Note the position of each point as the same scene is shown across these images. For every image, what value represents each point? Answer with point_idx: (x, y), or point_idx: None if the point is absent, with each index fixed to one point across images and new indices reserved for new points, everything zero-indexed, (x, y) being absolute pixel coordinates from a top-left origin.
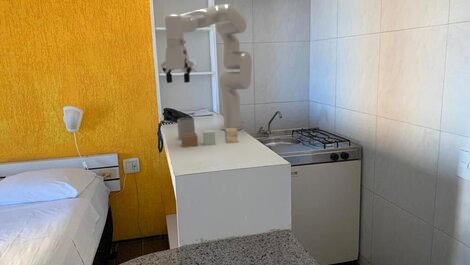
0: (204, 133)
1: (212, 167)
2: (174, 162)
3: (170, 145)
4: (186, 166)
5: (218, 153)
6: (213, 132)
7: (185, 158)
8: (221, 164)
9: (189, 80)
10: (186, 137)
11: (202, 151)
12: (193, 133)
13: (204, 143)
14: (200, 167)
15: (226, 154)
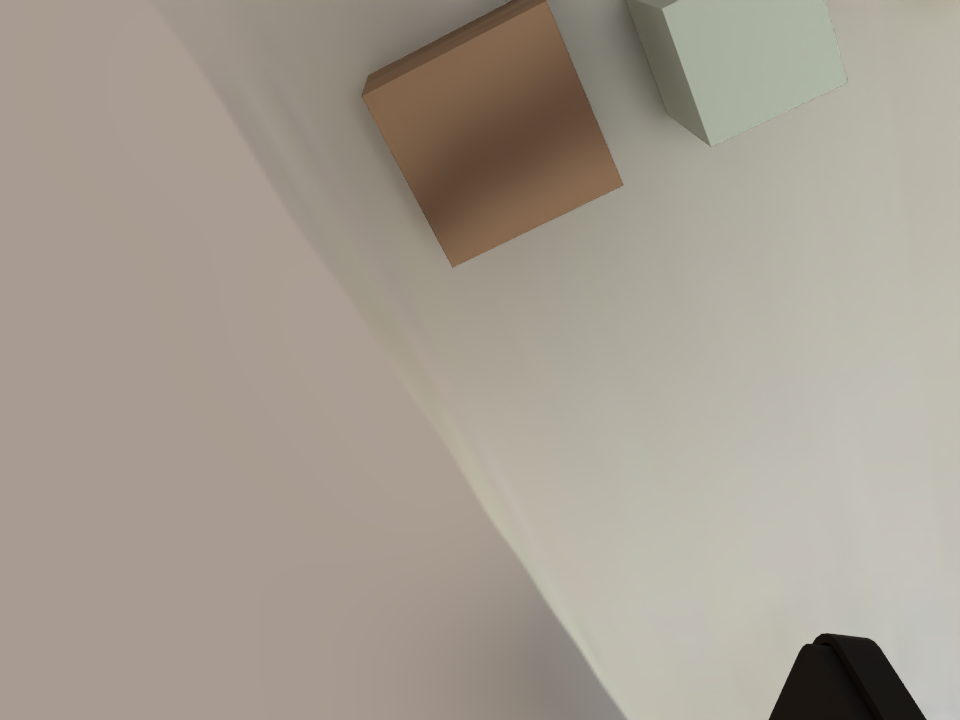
0: (715, 141)
1: None
2: (588, 657)
3: (261, 160)
4: (706, 713)
5: (875, 403)
6: (830, 88)
7: (633, 565)
8: (933, 647)
9: (892, 670)
10: (501, 239)
11: (714, 359)
12: (520, 39)
13: (670, 111)
14: None
15: (948, 424)
